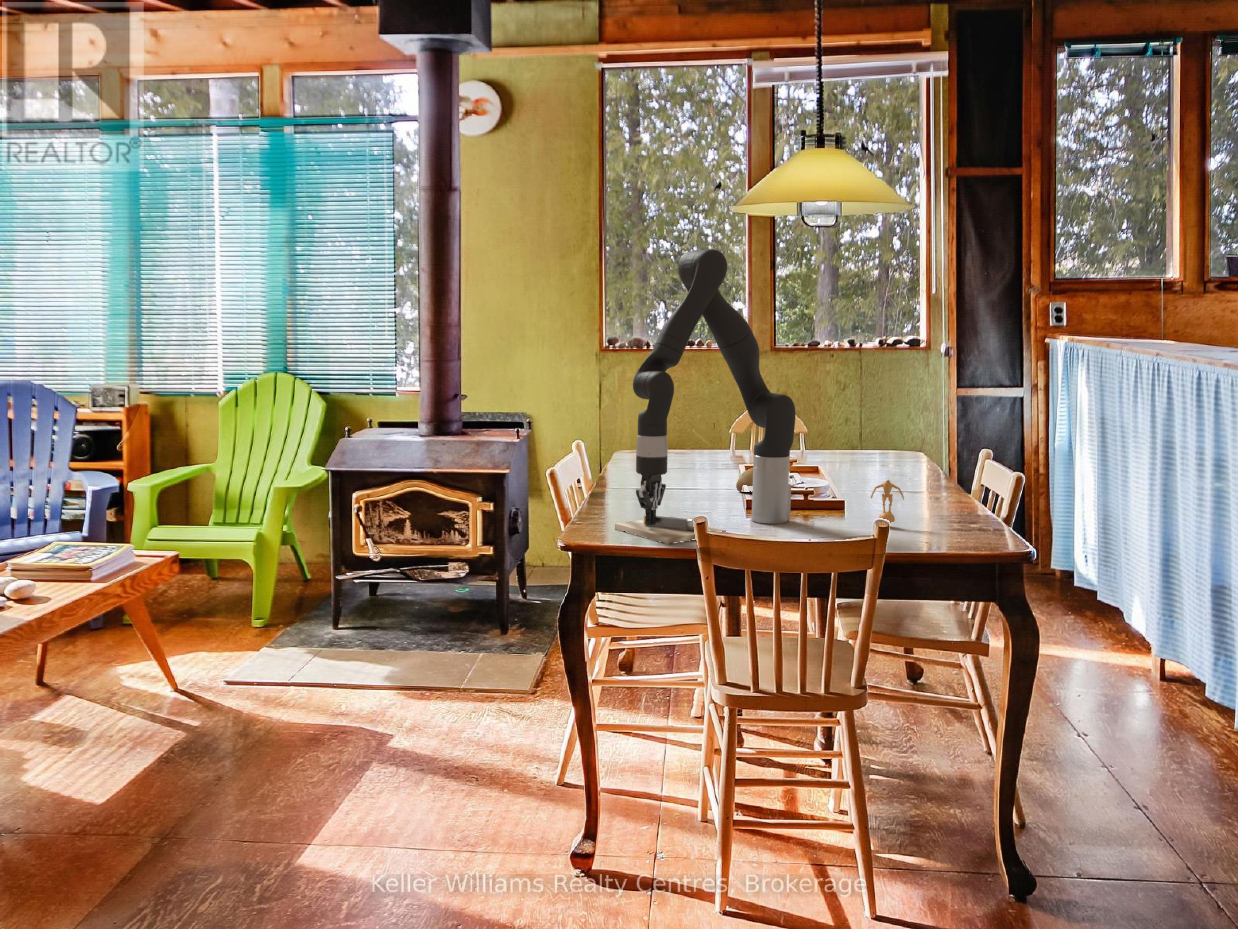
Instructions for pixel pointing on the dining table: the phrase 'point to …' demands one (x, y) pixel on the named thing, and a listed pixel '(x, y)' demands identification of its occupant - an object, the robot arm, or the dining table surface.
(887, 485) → the figurine
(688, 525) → the leg
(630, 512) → the dining table surface
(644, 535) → the hole board
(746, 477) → the bread roll
